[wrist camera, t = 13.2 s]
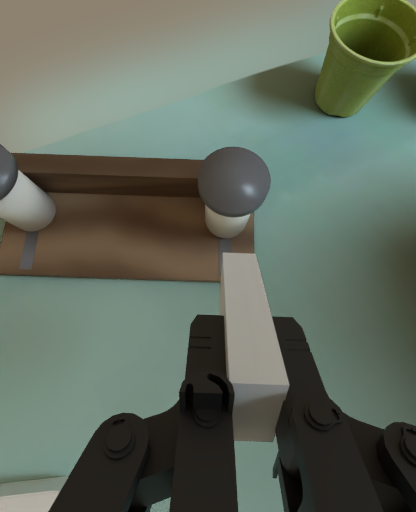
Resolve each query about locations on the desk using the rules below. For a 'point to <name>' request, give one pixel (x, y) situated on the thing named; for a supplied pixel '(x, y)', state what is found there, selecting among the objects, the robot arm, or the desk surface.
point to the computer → (30, 494)
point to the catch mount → (119, 221)
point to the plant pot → (364, 52)
